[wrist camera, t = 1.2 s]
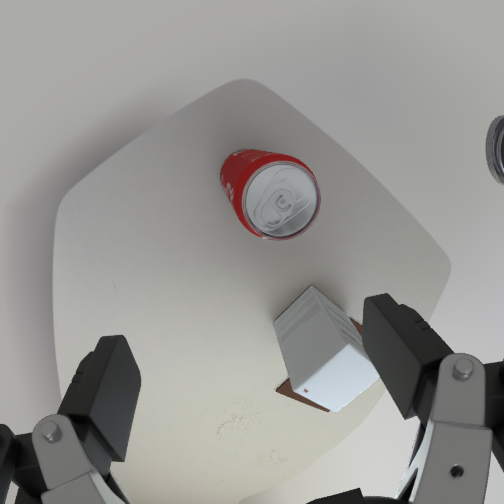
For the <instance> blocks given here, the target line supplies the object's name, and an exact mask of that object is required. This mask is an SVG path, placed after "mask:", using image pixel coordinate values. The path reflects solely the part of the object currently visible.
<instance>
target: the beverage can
mask: <svg viewBox="0 0 504 504" xmlns="http://www.w3.org/2000/svg"><path fill="white" fill-rule="evenodd" d="M220 177H221V184H222V187H223V189H224V191H225V193H226V195H227V197H228V199H229V201H230V202H231V204H232V206H233V208H234V210H235V212H236V214H237V216H238V218H239V220H240V221H241V223H242V224H243V225H244V227H246V228H247V229H248V230H249V231H250V232H251V233H253V234H255V235H257V236H259V237H261V238H264V239H270V240H288V239H292V238H294V237H297V236H299V235H301V234H302V233H303V232H305V231H306V230H307V229H308V228H309V227H310V226H311V225H312V224H313V222H314V221H315V219H316V217H317V215H318V212H319V209H320V202H321V196H320V189H319V187H318V184H317V181H316V178H315V176H314V175H313V173H312V172H311V170H310V169H309V168H308V167H307V166H306V165H305V164H304V163H303V162H301V161H300V160H298V159H296V158H294V157H292V156H288V155H283V154H278V153H272V152H266V151H260V150H254V149H243V150H239V151H237V152H235V153H233V154H232V155H230V156H229V157H228V158H227V159H226V161H225V162H224V164H223V166H222V169H221V174H220Z"/></svg>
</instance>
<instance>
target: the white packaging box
mask: <svg viewBox="0 0 504 504" xmlns="http://www.w3.org/2000/svg"><path fill="white" fill-rule="evenodd" d="M273 325H274V328H275V332H276V335H277V338H278V342H279V345H280V349H281V352H282V355H283V359H284V362H285V365H286V369H287V372H288V376H289V379H290V382H291V386H292V389H293V391H294V392H296V393H298V394H300V395H302V396H304V397H305V398H307V399H309V400H311V401H313V402H315V403H317V404H319V405H321V406H323V407H325V408H327V409H329V410H331V411H333V412H338V411H339V410H340V409H342V408H343V407H344V406H346V405H347V404H348V403H349V402H351V401H352V400H353V399H354V398H356V397H357V396H358V395H359V394H361V393H362V392H363V391H364V390H365V389H367V388H368V387H369V386H370V385H371V384H373V383H374V382H375V381H376V380H377V379H379V378H380V376H379V374H378V373H377V371H376V369H375V367H374V366H373V364H372V362H371V361H370V359H369V357H368V356H367V354H366V352H365V350H364V347H363V343H362V337H361V336H360V334H359V332H358V331H357V329H356V328H355V326H354V325H353V323H352V322H351V320H350V318H349V317H348V316H347V314H346V313H345V312H343V311H342V310H341V309H340V308H339V307H337V306H336V305H335V304H334V303H333V302H331V301H330V300H329V299H328V298H327V297H326V296H324V295H323V294H322V293H321V292H320V291H318V290H317V289H316V288H315V287H314V286H312V285H311V286H310V287H309V288H308V289H307V290H306V291H305V292H304V293H303V294H302V295H301V296H300V297H299V298H298V299H297V300H296V301H295V302H294V303H293V304H292V305H291V306H290V307H289V308H288V309H287V310H286V311H285V312H284V313H283V314H282V315H281V316H280V317H279V318H277V319H276V320H275V321H274V322H273Z"/></svg>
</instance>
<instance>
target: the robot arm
mask: <svg viewBox="0 0 504 504" xmlns="http://www.w3.org/2000/svg"><path fill="white" fill-rule="evenodd" d="M497 160H498V164H499V168H500V170H501V172H502V174H503V175H504V127H503V128H502V129H501V131H500V133H499V136H498V140H497ZM362 343H363V347H364V350H365V352H366V354H367V356H368V357H369V359H370V361H371V362H372V364H373V366H374V367H375V369H376V371H377V373H378V374H379V376H380V378H381V379H382V381H383V383H384V384H385V386H386V388H387V390H388V391H389V393H390V395H391V397H392V398H393V400H394V402H395V403H396V405H397V407H398V408H399V411H400V412H401V414H402V416H403V418H404V419H405V420H406V419H409V418H412V417H414V416H418V418H419V420H420V423H419V425H418V429H417V432H416V436H415V440H414V444H413V448H412V451H411V454H410V457H409V461H408V464H407V467H406V470H405V473H404V476H403V478H402V480H401V483H400V485H399V487H398V489H397V492H396V494H395V496H394V498H390V497H381V496H365V497H363V495H362V493H361V490H360V488H357V489H353V490H350V491H346V492H343V493H339V494H335V495H332V496H327V497H324V498H319V499H315V500H313V501H311V502H309V503H307V504H484V500H485V494H486V488H487V482H488V475H489V468H490V459H491V450H492V452H493V454H494V456H495V457H496V459H497V461H498V463H499V464H500V466H501V468H502V470H503V472H504V359H503V361H501V362H495V363H488V364H482V363H481V362H480V360H478V359H477V358H476V357H474V356H472V355H469V354H466V353H454V352H453V351H452V350H451V348H450V347H449V346H448V345H447V344H446V343H445V342H444V341H443V340H442V338H441V337H440V336H439V335H438V334H437V333H436V332H435V331H434V330H433V329H432V328H430V325H429V324H428V323H427V322H426V321H424V319H423V318H422V317H421V316H420V315H419V314H418V313H417V312H416V310H414V309H412V308H410V307H408V306H406V305H404V304H401V305H398V304H397V303H396V301H395V300H394V299H393V298H392V297H391V296H390V295H389V294H388V293H384V294H380V295H375V296H371V297H367V298H365V300H364V308H363V324H362ZM140 387H141V375H140V371H139V368H138V366H137V364H136V361H135V359H134V357H133V354H132V352H131V350H130V347H129V345H128V342H127V340H126V338H125V337H124V336H123V335H114V336H102V337H101V338H100V340H99V342H98V344H97V346H96V348H95V350H94V352H90V353H89V354H88V355H87V356H86V357H85V358H84V359H83V360H82V361H81V362H80V364H79V366H78V368H77V370H76V374H74V377H73V379H72V383H70V385H69V387H68V389H67V392H66V394H65V396H64V398H63V401H62V403H61V405H60V407H59V410H58V412H57V414H53V415H49V416H46V417H45V418H43V419H41V420H40V421H39V422H38V423H37V424H36V426H35V427H34V429H33V432H32V433H27V434H21V435H14V433H13V432H12V431H11V430H10V429H9V427H8V426H6V425H4V424H0V504H5V500H6V497H7V493H8V490H9V486H10V483H11V481H12V482H14V483H15V484H16V485H17V486H18V487H19V489H18V493H17V496H16V500H15V504H133V503H132V502H131V500H130V499H129V497H128V496H127V494H126V493H125V491H124V490H123V488H122V487H121V485H120V484H119V482H118V480H117V479H116V477H115V476H114V474H113V472H112V471H111V470H110V465H111V461H115V462H124V461H125V456H126V451H127V446H128V441H129V436H130V431H131V427H132V422H133V418H134V413H135V409H136V404H137V400H138V396H139V392H140Z"/></svg>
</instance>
